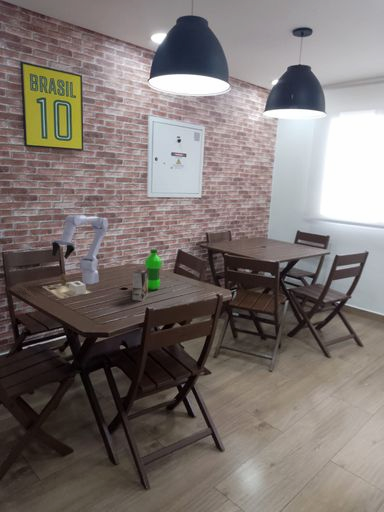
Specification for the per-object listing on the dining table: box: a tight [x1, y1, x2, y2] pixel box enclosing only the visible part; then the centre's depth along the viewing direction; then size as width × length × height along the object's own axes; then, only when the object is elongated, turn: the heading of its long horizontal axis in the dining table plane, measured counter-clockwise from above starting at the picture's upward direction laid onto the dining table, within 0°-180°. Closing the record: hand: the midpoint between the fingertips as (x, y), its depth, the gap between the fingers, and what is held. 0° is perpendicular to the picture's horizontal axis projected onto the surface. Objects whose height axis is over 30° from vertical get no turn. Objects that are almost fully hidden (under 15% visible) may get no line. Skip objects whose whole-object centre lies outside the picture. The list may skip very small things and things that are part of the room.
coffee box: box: [132, 268, 149, 302], centre depth 210 cm, size 9×6×16 cm
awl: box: [60, 273, 67, 286], centre depth 223 cm, size 3×3×6 cm
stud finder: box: [68, 280, 87, 296], centre depth 212 cm, size 6×9×6 cm, turn 43°
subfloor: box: [42, 281, 93, 299], centre depth 216 cm, size 19×26×1 cm
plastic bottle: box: [144, 248, 162, 291], centre depth 228 cm, size 10×10×25 cm
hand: (59, 257), depth 204 cm, fingers open, 7 cm apart
